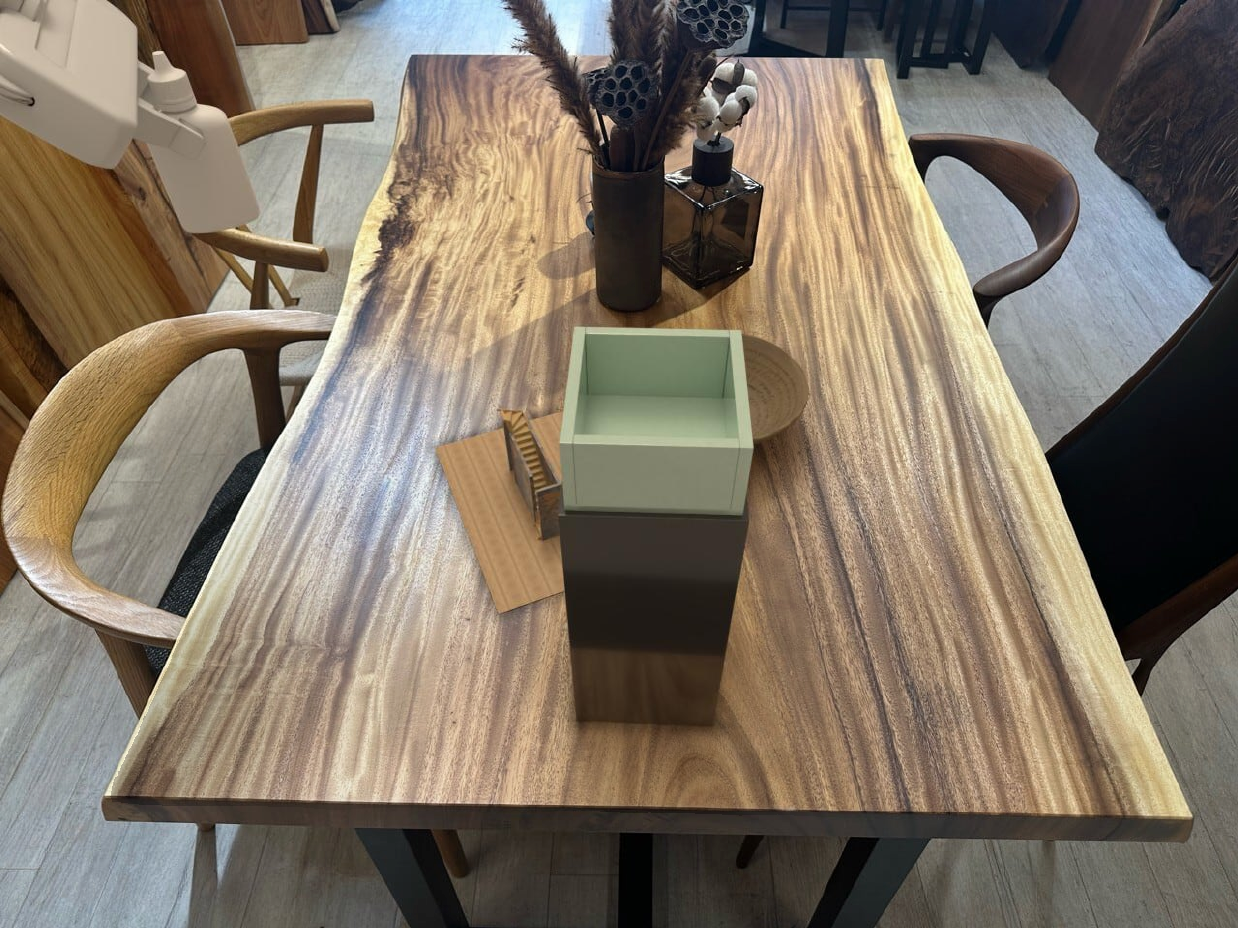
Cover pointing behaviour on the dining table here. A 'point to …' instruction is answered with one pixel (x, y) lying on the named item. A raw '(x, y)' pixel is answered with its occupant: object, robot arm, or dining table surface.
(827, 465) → the dining table surface
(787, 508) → the dining table surface
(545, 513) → the ruin model on sheet
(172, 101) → the eye dropper bottle
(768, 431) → the bowl
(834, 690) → the dining table surface
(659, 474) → the square pedestal with tray
